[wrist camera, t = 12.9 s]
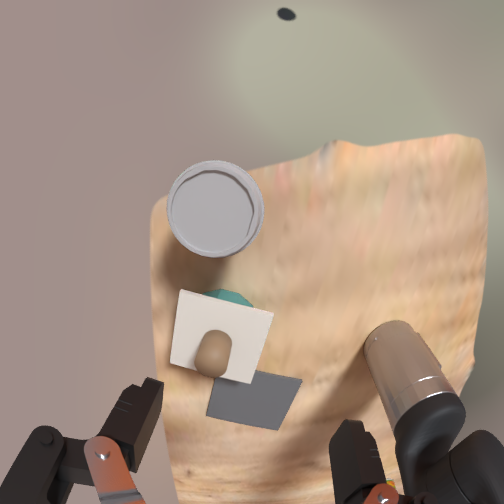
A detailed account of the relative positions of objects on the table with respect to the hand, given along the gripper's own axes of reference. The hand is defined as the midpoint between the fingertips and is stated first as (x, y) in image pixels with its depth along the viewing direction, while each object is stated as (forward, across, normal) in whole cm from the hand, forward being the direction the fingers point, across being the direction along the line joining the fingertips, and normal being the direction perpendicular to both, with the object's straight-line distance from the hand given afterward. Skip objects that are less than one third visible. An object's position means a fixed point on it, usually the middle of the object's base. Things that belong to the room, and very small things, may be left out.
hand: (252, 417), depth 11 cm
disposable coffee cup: (+30, +6, -4) cm, 31 cm away
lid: (+25, +3, +14) cm, 29 cm away
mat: (+30, -5, +29) cm, 42 cm away
